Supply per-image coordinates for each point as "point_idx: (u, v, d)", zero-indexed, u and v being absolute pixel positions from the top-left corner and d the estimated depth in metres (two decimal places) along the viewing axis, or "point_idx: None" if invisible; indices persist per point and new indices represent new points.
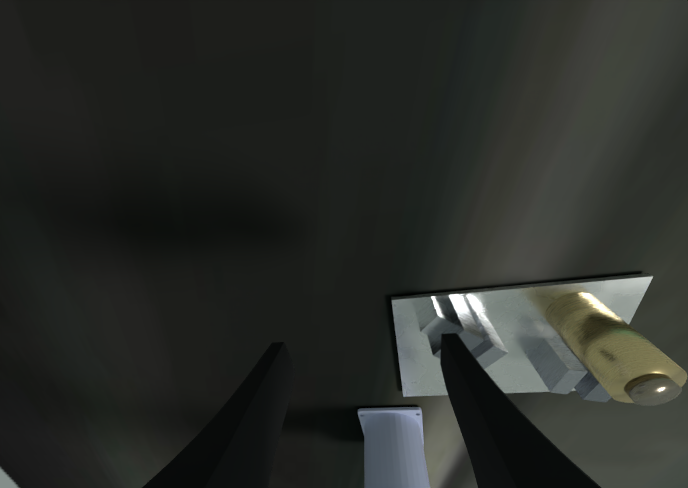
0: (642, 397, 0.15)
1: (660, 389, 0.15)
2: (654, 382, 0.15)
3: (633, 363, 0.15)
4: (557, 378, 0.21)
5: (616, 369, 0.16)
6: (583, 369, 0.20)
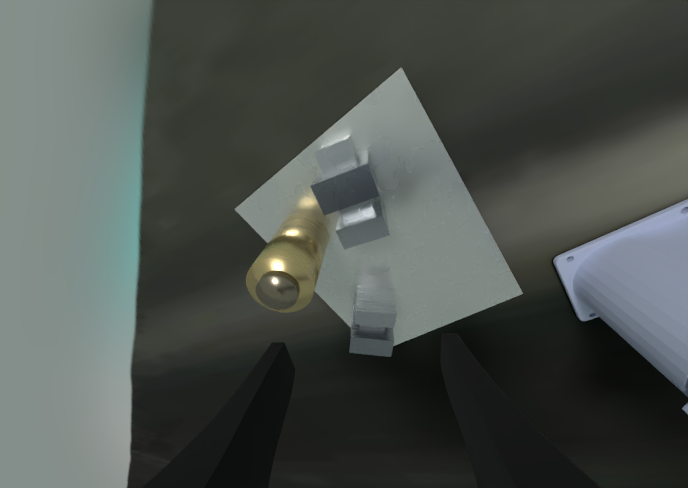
0: (287, 299, 0.14)
1: (269, 298, 0.14)
2: (268, 304, 0.15)
3: None
4: None
5: None
6: None
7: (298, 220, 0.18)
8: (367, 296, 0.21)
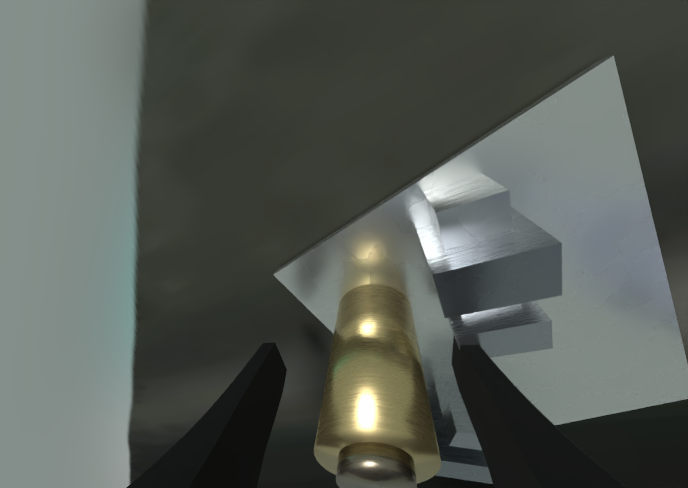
0: None
1: None
2: None
3: None
4: None
5: None
6: (455, 336, 0.10)
7: (378, 301, 0.11)
8: None
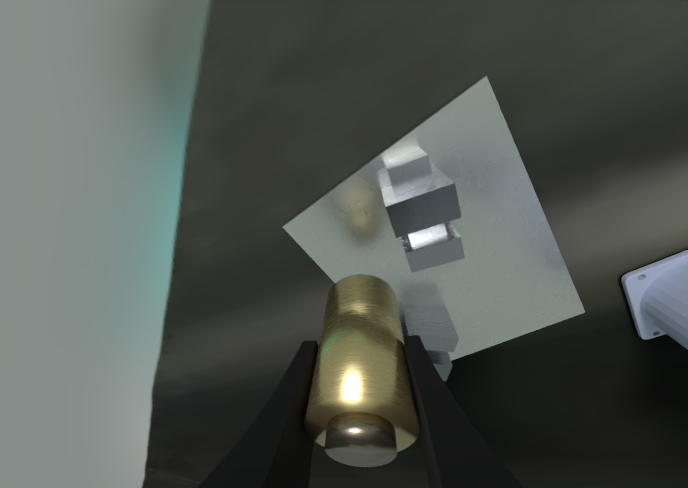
0: (377, 457, 0.08)
1: (346, 454, 0.08)
2: None
3: None
4: None
5: None
6: (405, 254, 0.15)
7: (364, 290, 0.12)
8: (422, 317, 0.19)
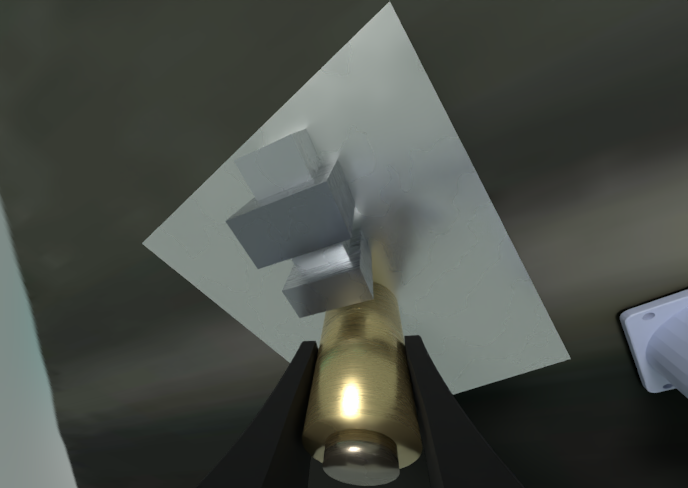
0: (378, 476, 0.08)
1: (345, 473, 0.08)
2: None
3: None
4: None
5: None
6: None
7: None
8: None
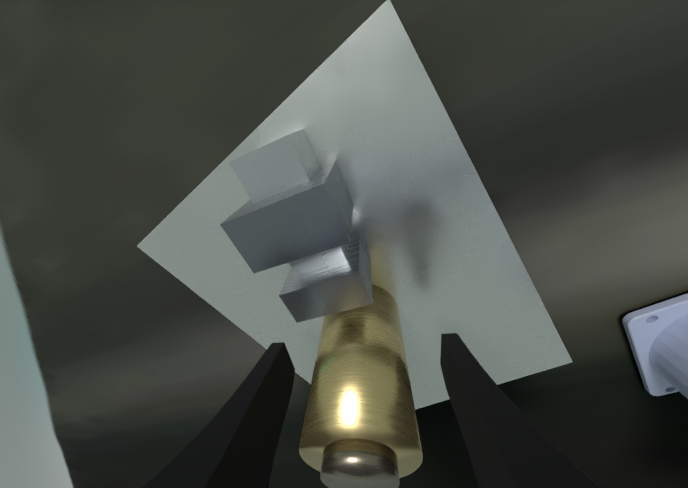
0: (378, 487, 0.08)
1: (344, 484, 0.08)
2: None
3: None
4: None
5: None
6: None
7: None
8: None
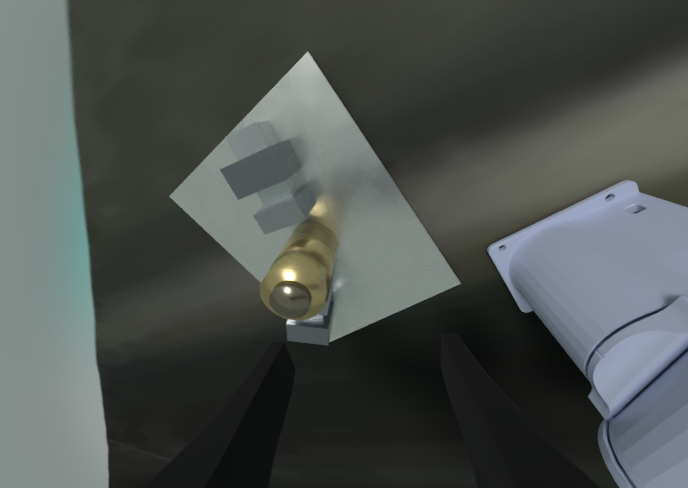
0: (299, 308, 0.14)
1: (282, 307, 0.15)
2: None
3: None
4: None
5: None
6: None
7: (310, 229, 0.18)
8: None
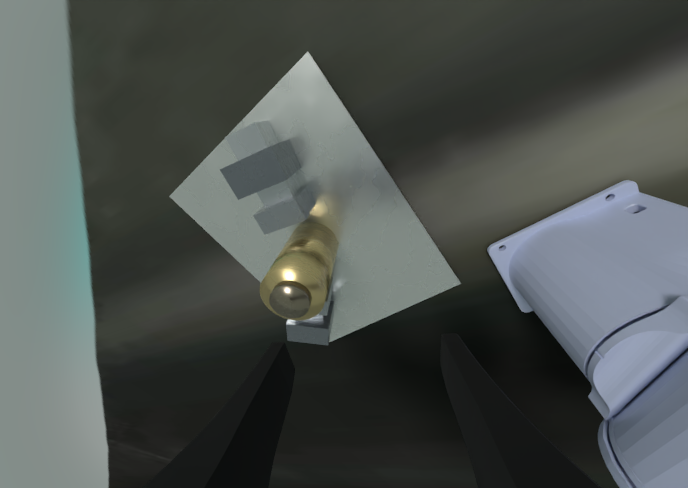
0: (299, 308, 0.14)
1: (282, 307, 0.15)
2: None
3: None
4: None
5: None
6: None
7: (310, 229, 0.18)
8: None
